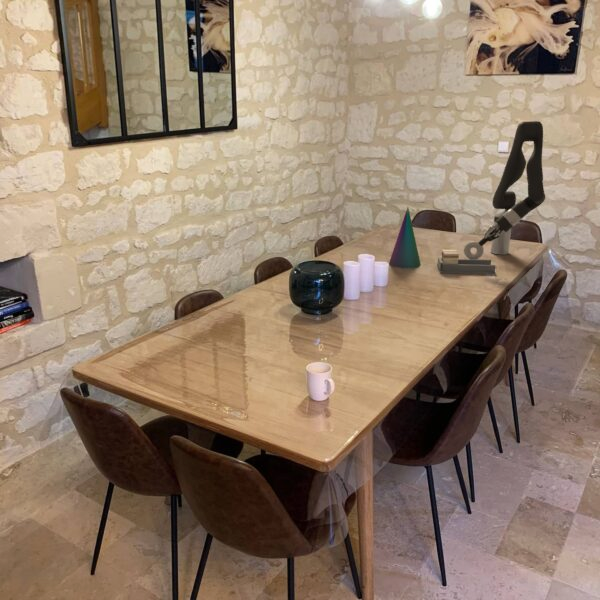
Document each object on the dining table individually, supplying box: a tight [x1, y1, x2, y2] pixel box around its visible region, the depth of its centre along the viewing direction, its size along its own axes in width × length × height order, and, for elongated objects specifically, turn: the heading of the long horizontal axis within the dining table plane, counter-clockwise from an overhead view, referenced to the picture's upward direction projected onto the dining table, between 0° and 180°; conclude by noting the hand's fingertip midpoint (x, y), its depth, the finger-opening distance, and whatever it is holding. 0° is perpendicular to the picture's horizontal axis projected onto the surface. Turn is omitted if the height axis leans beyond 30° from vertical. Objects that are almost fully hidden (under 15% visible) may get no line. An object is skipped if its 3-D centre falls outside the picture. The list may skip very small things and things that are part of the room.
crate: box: [440, 249, 460, 264], centre depth 289 cm, size 7×7×8 cm
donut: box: [463, 240, 485, 259], centre depth 306 cm, size 10×3×10 cm, turn 76°
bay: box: [436, 256, 497, 275], centre depth 289 cm, size 14×26×5 cm, turn 85°
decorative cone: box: [388, 206, 422, 269], centre depth 296 cm, size 16×16×30 cm
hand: (479, 244), depth 286 cm, fingers closed
